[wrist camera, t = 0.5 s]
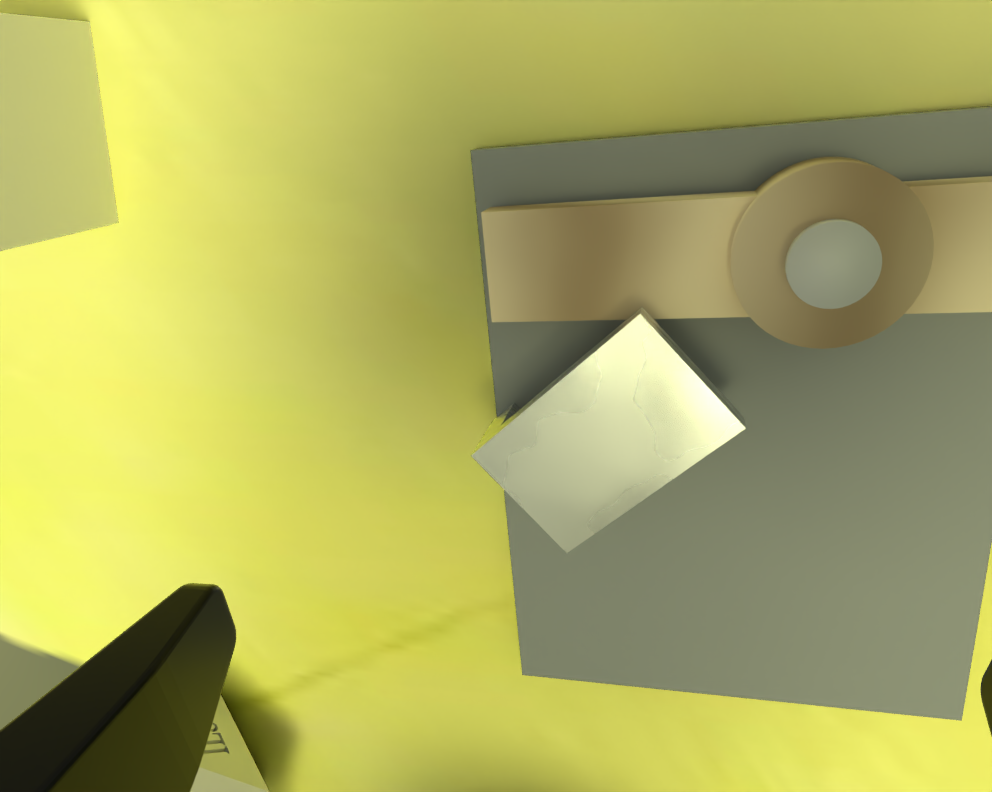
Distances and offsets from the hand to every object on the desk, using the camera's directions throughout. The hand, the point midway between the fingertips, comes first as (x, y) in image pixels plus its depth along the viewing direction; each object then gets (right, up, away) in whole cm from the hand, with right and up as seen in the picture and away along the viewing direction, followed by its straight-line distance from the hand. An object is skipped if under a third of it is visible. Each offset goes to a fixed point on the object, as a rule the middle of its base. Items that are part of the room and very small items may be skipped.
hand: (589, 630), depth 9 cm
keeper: (+2, +2, +14) cm, 14 cm away
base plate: (+6, +1, +14) cm, 15 cm away
